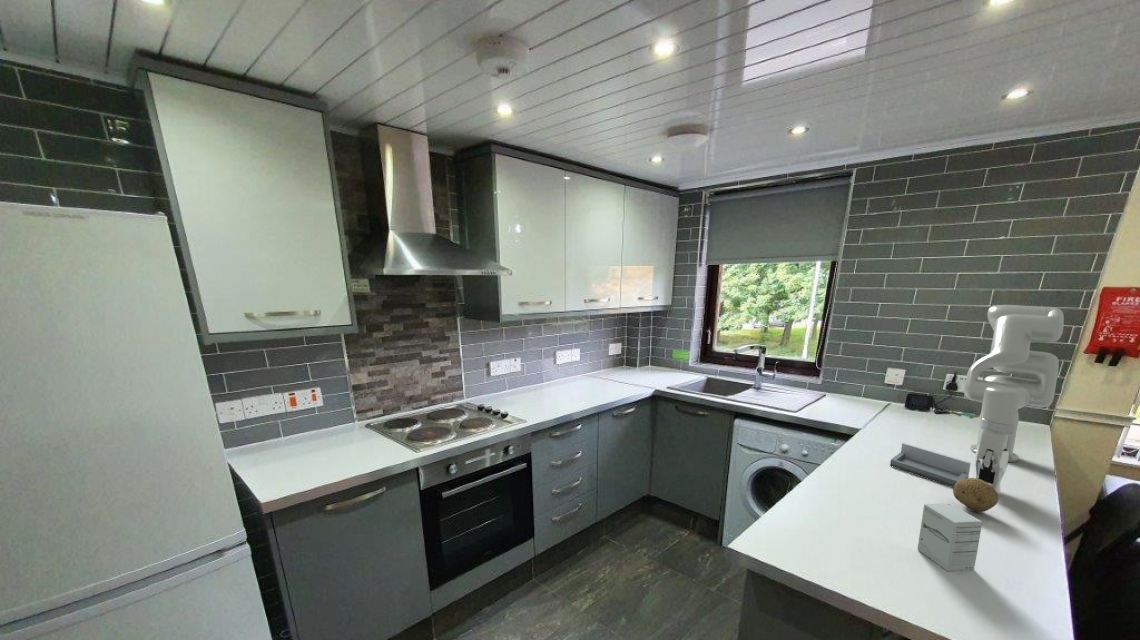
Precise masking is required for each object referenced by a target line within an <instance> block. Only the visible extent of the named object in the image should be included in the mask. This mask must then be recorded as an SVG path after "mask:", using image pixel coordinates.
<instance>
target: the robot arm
mask: <svg viewBox="0 0 1140 640" xmlns="http://www.w3.org/2000/svg"><path fill="white" fill-rule="evenodd" d="M1064 316H1065V315H1064V312H1063V311H1062V309H1060V308H1058V307H1054V306H1053V307H1052V306H1037V305H1036V306H1035V305H1019V304H998V305H997V304H996V305H992V306H991V307H989V308H988V310H987V321H988V322H989V324H990V326H991V328H992V331H993V336H992V340H991V346H990V352H989V353H988V354H986V355H984V356H982V357H981V358H979V359H978V360H976V361H974V362H973V363H972V364H971V366H970V367H969V369H968V371H967V374H966V378H965V383H964V389H963V391H964V392H963V393H964V395H965V397H966V398H967V399H968V400H970V401H973V402H976V403H977V402H978V403H982V405H981V411H980V415H979V417H980V418H979V423H978V433H977V434H978V435H977V441H976V444H972V445H970V446H969V447H970V451H972V452H973V453H975V454H976V451H977V448H978V443H979V448H978V452H977V459H982V458H983V461H982V465H981V468H980V472H979V478H978V479H981V480H983V481H985V482H987V483H990V484H993V483H994V477H995V472H994V469H995V465H996V464H999V462H1000V460H1001V457H1002V454H1003V451H1005V450H1006V448H1007V449H1008V450H1009V459H1008V463H1009V462H1010V463H1015V462H1018V461H1019V458H1020V457H1019V456H1018V455H1017V454H1015V453H1014V448H1015V441H1016V436H1017V431H1018V430H1017V429H1018V424H1019V419H1020V415H1019V409H1022V408H1024V407H1025V406H1032V407H1037V408H1039V407H1040V408H1048V407H1050V406H1051V405H1052V404H1053V402H1054V400H1055V399H1054V398H1055V393H1056V387H1057V383H1058V382H1057V381H1058V375H1059V367H1060V366H1059V365H1060V364H1059V358H1058V357H1057V356H1056V354H1053V353H1050V352H1047V351H1037V350H1031V349H1030V348H1031V342H1032V341H1038V342H1039V341H1040V342H1048V343H1054V342H1058V341H1059V340H1060V339H1061V337H1062V335H1063V331H1064V326H1065V325H1064V323H1065V322H1064V319H1065V317H1064ZM992 368H993V370H994V371H996V372H1000V373H1005V374H1009V375H1016V377H1015V376H1009V375H1001V374H993V375H988V376H985V377H984V378H983V379H979V376H980V374H981V373H983V372H984V371H987V370H989V369H992ZM1017 376H1025V377H1032V378H1034V379H1029V378H1024V377H1023V378H1021V377H1017ZM992 456H993V457H994V462H992V461H991V459H992ZM990 463H991V464H992V465H990Z"/></svg>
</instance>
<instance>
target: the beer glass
mask: <svg viewBox="0 0 1140 640" xmlns="http://www.w3.org/2000/svg"><path fill="white" fill-rule="evenodd" d="M978 448H979V443H978ZM978 448H977V451H976V453H975V456H974V457H975V460H974V461H975V462H974V463H975V473H976V476H975V478H977V479H978V478H979V472H980V468H981V465H982V461H983V458H982V459H977V452H978ZM1008 459H1009V450H1008V449H1007V448H1006V450H1005V451H1003V454H1002V457H1001V460H1000V462H999V464H996V465H995V469H994V472H995V477H994V483H993V484H990V483H988V484H990V485H991V486H992V487H993V488H994V489H995V491H996V492H997V494H998V497H999V496H1001V494H1002V493H1001V483H1002V480H1003V478H1004V476H1005V473H1006V472H1007V468H1008V464H1009V462H1008ZM991 461H992V462H994V457H993V456H992V459H991ZM990 465H992V464H991V463H990Z"/></svg>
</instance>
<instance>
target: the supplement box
mask: <svg viewBox="0 0 1140 640" xmlns="http://www.w3.org/2000/svg"><path fill="white" fill-rule="evenodd" d="M921 516H922V518H921V522H920V531H919V535H918V536H919V537H918V543H917V551H919V552H920V553H922V554H923V555H925V556H926V557H928V558H929V559H930V560H932V561H933V562H934V563H936V564H937V565H938V566H939V567H941V568H942V569H944V570H945V571H946V572H959V571H960V572H962V571H973V570H975V566H976V560H977V555H978V550H979V545H980V544H979V543H980V537H981V532H982V528H983V527H982V526H983V521H982V520H980V519H978V518H977V517H975V516H973V515H971V514H969V513H967V512H966V511H964V510H963V509H960V508H958V507H956V505H953V504H952V503H949V502H940V503H925V504H923V511H922V515H921Z"/></svg>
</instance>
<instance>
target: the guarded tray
mask: <svg viewBox="0 0 1140 640" xmlns="http://www.w3.org/2000/svg"><path fill="white" fill-rule="evenodd" d="M889 466H890V467H892V466H893V468H895V467H896V468H895V469H898V468H899V469H898V470H901V471H903V470H904V472H906V471H907V473H909V472H910V474H912V473H913V474H912V475H915V474H916V476H918V475H919V477H921V476H922V477H921V478H924V477H925V478H924V479H927V478H928V479H927V480H930V479H931V481H933V480H934V481H933V482H936V481H937V482H936V483H939V484H942V485H944V486H947V487H950V486H951V487H952V488H953V487H954V485H955V484H956V483H957V482H958V481H959V480H962V479H966V478H970V477H969V476H970V470H971V461H967V460H963V459H961V458H960V459H959V458H958V457H957V458H956V457H954V456H950V455H947V454H943V453H940V452H936V451H933V450H929V449H926V448H923V447H919V446H916V445H912V444H909V443H906V442H902V443H901V448H900V452H899V453H897V454H896V455H894V456H893V457H892V458H890V464H889Z"/></svg>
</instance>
